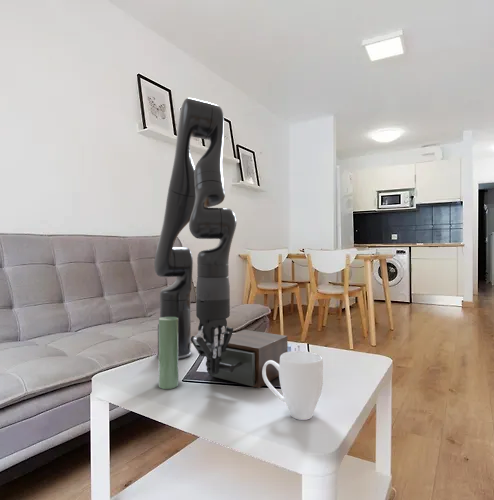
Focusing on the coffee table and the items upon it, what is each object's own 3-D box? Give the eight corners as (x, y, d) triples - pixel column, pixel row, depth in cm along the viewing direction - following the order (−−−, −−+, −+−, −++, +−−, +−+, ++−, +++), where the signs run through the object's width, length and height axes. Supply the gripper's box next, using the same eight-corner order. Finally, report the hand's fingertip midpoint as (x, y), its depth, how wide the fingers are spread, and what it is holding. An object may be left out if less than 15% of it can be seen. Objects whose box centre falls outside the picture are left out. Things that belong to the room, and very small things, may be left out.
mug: (325, 409, 73) (325, 353, 73) (319, 428, 66) (319, 365, 66) (268, 400, 78) (268, 347, 78) (256, 417, 70) (256, 358, 70)
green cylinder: (154, 386, 86) (154, 318, 86) (168, 380, 90) (168, 315, 90) (168, 390, 83) (168, 320, 83) (182, 384, 87) (182, 317, 87)
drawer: (240, 393, 79) (240, 359, 79) (196, 381, 86) (196, 350, 86) (279, 370, 94) (279, 341, 94) (239, 361, 102) (239, 335, 102)
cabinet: (259, 388, 85) (259, 348, 85) (212, 376, 92) (212, 340, 92) (287, 370, 97) (287, 335, 97) (244, 361, 105) (244, 329, 105)
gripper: (217, 292, 89) (218, 363, 89) (180, 298, 78) (180, 378, 78) (243, 294, 85) (243, 368, 85) (207, 301, 74) (207, 386, 74)
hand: (213, 373), depth 82 cm, fingers closed
